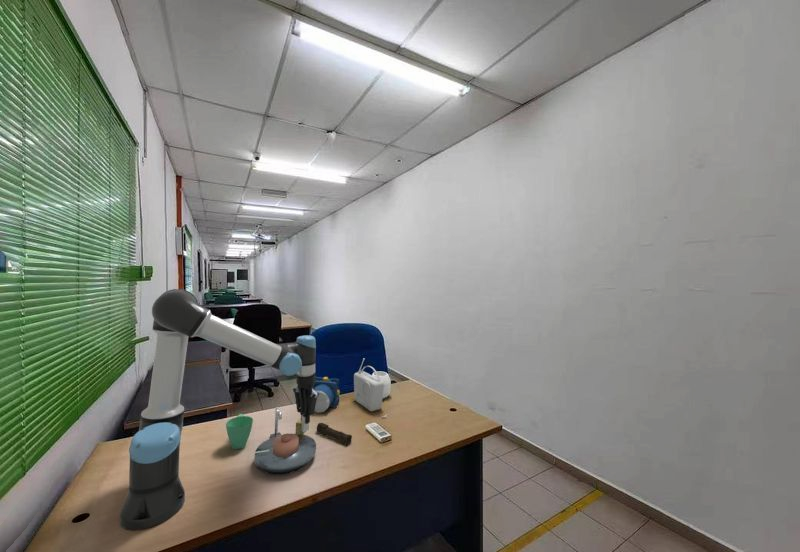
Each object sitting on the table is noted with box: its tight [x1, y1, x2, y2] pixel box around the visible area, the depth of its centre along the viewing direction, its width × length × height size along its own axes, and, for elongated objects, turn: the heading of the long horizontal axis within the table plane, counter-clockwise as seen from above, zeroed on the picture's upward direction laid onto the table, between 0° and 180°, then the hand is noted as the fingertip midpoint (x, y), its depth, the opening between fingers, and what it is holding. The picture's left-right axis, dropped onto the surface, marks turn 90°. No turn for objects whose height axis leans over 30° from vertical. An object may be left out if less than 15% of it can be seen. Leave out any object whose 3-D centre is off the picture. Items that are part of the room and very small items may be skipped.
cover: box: [273, 433, 299, 457], centre depth 118 cm, size 9×9×6 cm
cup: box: [371, 370, 392, 400], centre depth 184 cm, size 13×13×14 cm
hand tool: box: [316, 422, 353, 447], centre depth 137 cm, size 19×4×5 cm, turn 57°
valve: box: [314, 376, 341, 414], centre depth 165 cm, size 13×15×15 cm
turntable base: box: [262, 463, 308, 476], centre depth 120 cm, size 18×18×2 cm
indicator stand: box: [269, 406, 283, 439], centre depth 132 cm, size 10×4×14 cm, turn 33°
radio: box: [353, 357, 384, 412], centre depth 171 cm, size 22×8×25 cm, turn 37°
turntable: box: [254, 417, 317, 472], centre depth 121 cm, size 24×22×7 cm
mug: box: [225, 413, 254, 450], centre depth 130 cm, size 15×10×10 cm
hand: (305, 430), depth 130 cm, fingers closed
